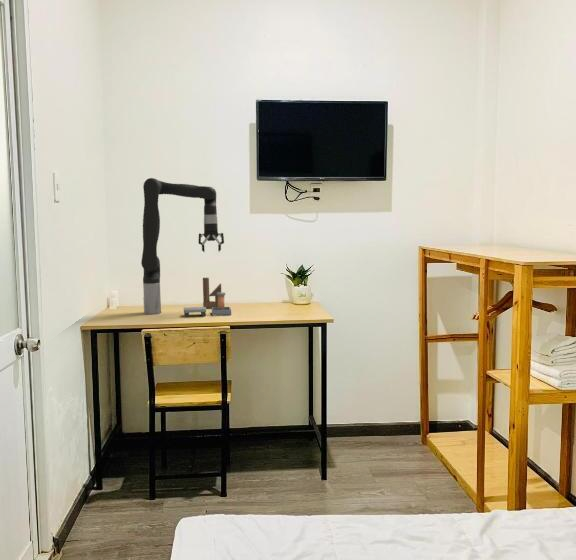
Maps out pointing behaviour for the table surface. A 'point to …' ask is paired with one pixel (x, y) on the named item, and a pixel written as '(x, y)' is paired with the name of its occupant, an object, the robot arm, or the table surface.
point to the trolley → (194, 310)
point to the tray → (221, 311)
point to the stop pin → (221, 300)
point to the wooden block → (206, 299)
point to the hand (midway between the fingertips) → (211, 251)
